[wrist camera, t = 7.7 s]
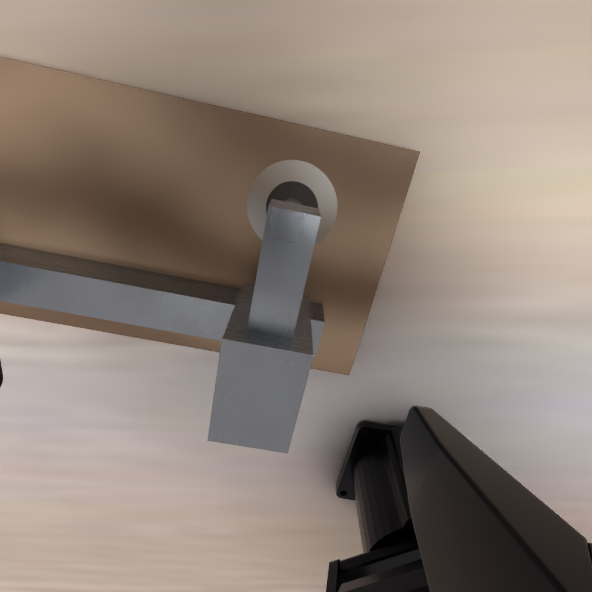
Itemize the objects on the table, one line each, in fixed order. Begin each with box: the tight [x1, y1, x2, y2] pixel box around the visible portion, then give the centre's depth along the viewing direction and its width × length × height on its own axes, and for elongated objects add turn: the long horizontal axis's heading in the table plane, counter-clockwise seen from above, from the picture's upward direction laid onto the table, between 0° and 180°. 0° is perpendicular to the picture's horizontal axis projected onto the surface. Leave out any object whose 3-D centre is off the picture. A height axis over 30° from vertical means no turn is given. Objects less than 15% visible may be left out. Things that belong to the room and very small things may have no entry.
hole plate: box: [0, 57, 420, 375], centre depth 18 cm, size 12×25×1 cm, turn 78°
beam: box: [0, 197, 325, 453], centre depth 14 cm, size 9×22×7 cm, turn 78°
